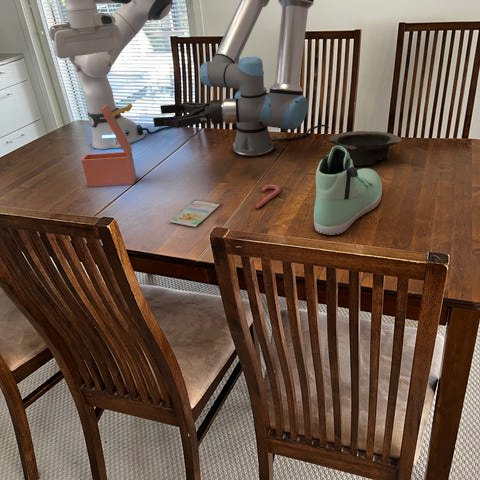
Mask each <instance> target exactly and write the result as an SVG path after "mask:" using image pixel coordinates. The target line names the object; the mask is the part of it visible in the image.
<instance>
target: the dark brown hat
mask: <svg viewBox="0 0 480 480" xmlns="http://www.w3.org/2000/svg"><path fill="white" fill-rule="evenodd" d="M402 141H403V138H401V137H400V136H398V135H396V134H394V133H389V132H386V131H385V132H384V131H377V130H376V131H374V130H356V131H355V130H354V131H345V132H341V133H337V134H332V135H331V136H329V140H328V143H331V144H333V145H334V146H342V147H344V148H345V149H346V150H347V152H348V153H349V156H350V159H352V161H353V166H355V167H364V166H373V165H375V164H376V163H377V161H386V160H387V159H388V158H389V155H390V148H391V147H392V146H395V145H398V144H399V143H401V142H402Z"/></svg>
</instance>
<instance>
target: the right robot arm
mask: <svg viewBox="0 0 480 480" xmlns="http://www.w3.org/2000/svg"><path fill="white" fill-rule="evenodd" d="M314 1H315V0H277V2H278V3H279V5H280V6H281V14H280V25H279V35H278V45H277V56H276V65H275V75H274V83H273V84H272V85H271V86H269V90H267V88H266V86H265V81H264V80H265V79H264V75H265V72H264V66H263V65H264V64H263V60H262V58H261V57H259V56H244V57H241V55H242V53H243V51H244V49H245V46H246V45H247V42H248V40H249V38H250V36H251V34H252V32H253V29H254V28H255V25H256V24H257V21H258V19H259V17H260V15H261V13H262V10H263V9H264V8H266V7H267V6H268V5H269V2H270V0H240V1H239V3H238V5H237V8H236V10H235V12H234V13H233V15H232V18H231V20H230V22H229V24H228V26H227V29H226V31H225V32H224V35H223V37H222V38H221V41H220V43H219V45H218V47H217V49H216V52H215V54H214V55H213V58H212V60H210V61H205V62H203V63H202V64H201V65H200V67H199V73H198V74H199V80H200V82H201V83H202V84H203V85H205V86H206V87H207V86H208V87H211V88H225V89H233V90H238V91H236V92H235V94H234V98H224V99H211V100H210V101H209V102H195V101H194V102H193V101H183V102H181V103H178V104H177V103H175V104H160V105H159V106H160V107H159V108H160V114H161V115H167V114H168V115H169V114H170V115H171V114H182V115H180V116H177V115H173V116H161V117H153V118H152V121H153V127H154V128H163V127H168V126H176V129H181V128H186V127H192V126H196V125H200V124H201V125H202V124H208V120H210V123H211V125H222V124H231V125H236V134H235V138H234V141H233V144H232V146H233V153H234V154H235V155H237V156H239V157H243V158H258V157H263V156H266V155H269V154H271V153H272V152H273V151H274V142H282V141H289V140H298V139H302V138H305V137H307V136H308V135H309V133H310V132H311V131H313V130H315V129H318V128H321V127H322V128H323V127H324V128H326V129H329V128H330V126H328V125H327V124H323V123H322V124H318V125H315V126H313V127H310V128H308V129H307V131H306V132H305V133H304V134H302V135H298V136H291V137H282V138H274V139H272V137H271V134H270V132H269V131H270V130H269V128H274V129H275V128H276V129H281V130H292V131H293V130H296V129H298V128H299V127H301V126H302V124H303V123H304V122H305V119H306V116H307V113H308V109H309V104H308V99H307V98H306V96H304V95H303V94H304V90H303V88H302V87H301V86H300V85H301V84H300V82H301V74H302V65H303V58H304V57H303V56H304V49H305V39H306V30H307V24H308V23H307V21H308V14H309V9H310V8H311V7H313V5H314V3H315V2H314ZM240 57H241V58H240ZM185 113H186V114H185Z"/></svg>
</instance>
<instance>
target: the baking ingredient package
mask: <svg viewBox="0 0 480 480" xmlns="http://www.w3.org/2000/svg"><path fill="white" fill-rule="evenodd" d="M219 206H221V204H220V203H215V202H210V201H209V202H208V201H202V200H196V199H195V200H194V201H193V202H192V203H190V204H189V205H188V206H186V208H184V209H183V210H182V211H180V212H179V213H178V214H177V215H175V216H174V217H173V218H172V219H171V220H169V223H173V224H174V223H175V224H178V225H183V226H188V227H194V228H196V227H197V226H198V225H199V224H200V223H202V222H203V221H204V220H205V219H206V218H207V217H208V216H210V215H211V214H212V213H213V212H214V211H215V210H216V209H218V207H219Z"/></svg>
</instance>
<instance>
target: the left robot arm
mask: <svg viewBox="0 0 480 480" xmlns="http://www.w3.org/2000/svg"><path fill="white" fill-rule="evenodd" d="M173 2H174V1H173V0H64V10H65V11H64V12H65V15H66V18H67V22H66V21H65V22H62V23H53V24H52V25H51V26H50V27H49V29H48V33H49V37H50V39H51V41H52V44H53V51H54V54H55V56H56V57H57V58H59V59H60V60H62V59H68V60H69V62H70V63H71V64H72V65H73V67H74V69H75V72H76V74H77V78H78V81H79V84H80V86H81V89H82V92H83V96H84V100H85V104H86V108H87V118H88V122H89V125H90V127H91V128H90V129H91V137H92V138H91V140H92V141H91V147H92V148H94V149H98V150H107V149H122V147H121V145H120V143H119V142H118V140H117V138H116V136H115V134H114V133H113V131H112V129H111V127H110V125H109V124H108V122H107V120H106V118H105V117H104V115H103V113H102V111H101V109H102V108H103V107H104V106H105V105H106V104H108V106H109V108H110V110H111V111H112V112H114V111H116V110H119V109H121V108H122V107H117V106H116V103H115V97H114V94H113V88H112V86H111V84H110V81H109V78H108V76H107V75H108V74H109V73H110V72H111V71H112V67H113V65H114V64H115V63H116V60H117V59H118V57H119V56H120V55H121V53H122V52H123V50H124V49H125V48H126V47H127V46H128V44H129V43H130V42H131V41H132V40H133V39H134V38H135V37H136V36H137V35H138V34H139V33H140V31H141V30H142V28H143V27H144V26H145V24H146V23H147V22H148V21H152V20H153V21H161V20H163V19H164V18H165V17H167V16H168V14H170V12H171V10H172V8H173ZM108 4H110V5H111V4H121V5H120V6H119V7H117V9H116V10H115V11H114V12H113V13H112V14H107V13H105V12H99V11H98V8H97V7H98V6H97V5H108ZM125 112H126V111H125ZM125 112H123V113H120V114H118V115H116V116H114V117H115V119H116V121H117V122H118V124H119V126H120V128H121V130H122V131H123V133H124V135H125V137H126V139H127V141H128V142H129V144H130V145H131V144H132V143H135V142H137V141H139V140H141V139H143V138H145V137H146V135H145V133H144V131H146V133H147V134H149V135H152V134H156V133H158V132H160V131H163V130H168V129H175V128H176V126H163V127H159V128H158V129H156V130H154V131H150V130H149V128H147V127H143V126H142V125H141V124H136V123H135V122H134V121H133V120H131V119H129V118H127V117H125V116H123V115H122V114H125ZM176 129H177V128H176Z"/></svg>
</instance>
